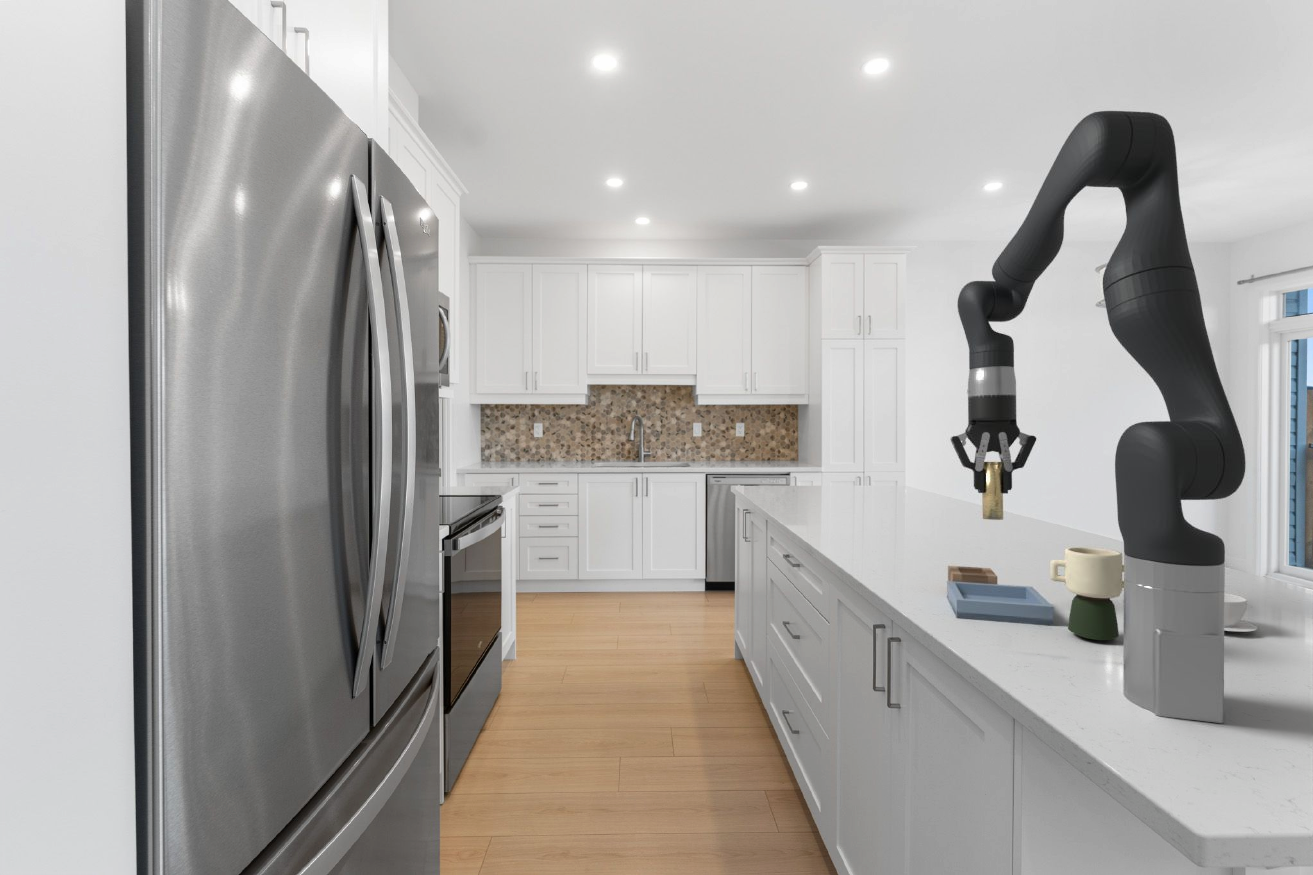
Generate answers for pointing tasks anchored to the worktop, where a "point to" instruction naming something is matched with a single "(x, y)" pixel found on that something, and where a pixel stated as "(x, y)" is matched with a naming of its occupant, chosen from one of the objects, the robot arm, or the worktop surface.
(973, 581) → the bracket
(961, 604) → the tray
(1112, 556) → the character mug
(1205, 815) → the worktop surface
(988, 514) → the pin
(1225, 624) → the teacup
